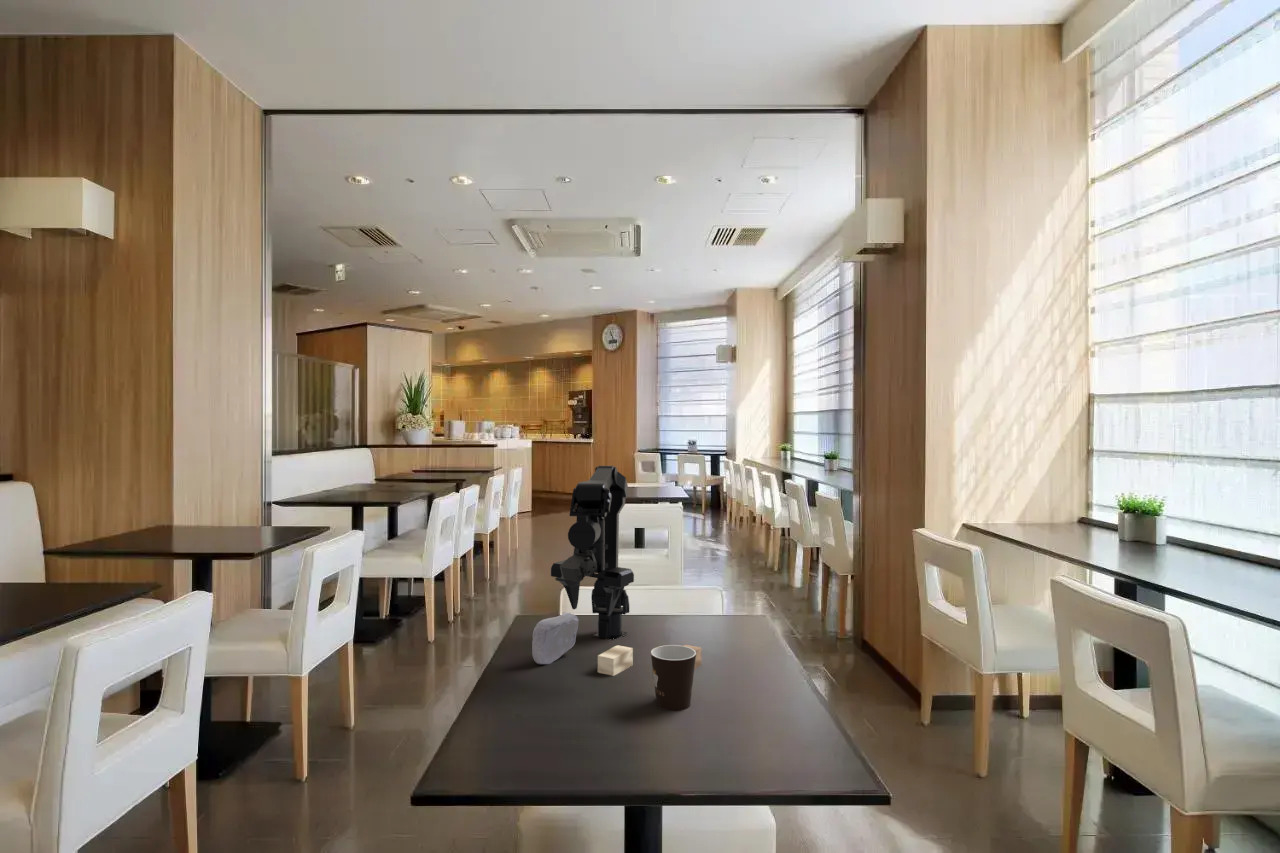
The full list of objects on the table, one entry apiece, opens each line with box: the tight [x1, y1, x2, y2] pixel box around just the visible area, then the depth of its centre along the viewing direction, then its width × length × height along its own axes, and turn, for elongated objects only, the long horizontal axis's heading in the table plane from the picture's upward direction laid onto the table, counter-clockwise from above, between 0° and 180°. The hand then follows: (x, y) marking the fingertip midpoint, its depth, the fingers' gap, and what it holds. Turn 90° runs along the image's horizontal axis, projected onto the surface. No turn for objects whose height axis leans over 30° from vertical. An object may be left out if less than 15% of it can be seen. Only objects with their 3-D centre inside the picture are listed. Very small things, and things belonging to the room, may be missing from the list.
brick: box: [683, 644, 703, 671], centre depth 150 cm, size 8×4×4 cm, turn 150°
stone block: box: [531, 612, 580, 665], centre depth 154 cm, size 12×5×10 cm, turn 143°
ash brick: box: [597, 644, 634, 677], centre depth 150 cm, size 8×4×4 cm, turn 150°
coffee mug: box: [650, 644, 696, 712], centre depth 132 cm, size 12×9×10 cm
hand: (591, 612), depth 150 cm, fingers open, 9 cm apart
